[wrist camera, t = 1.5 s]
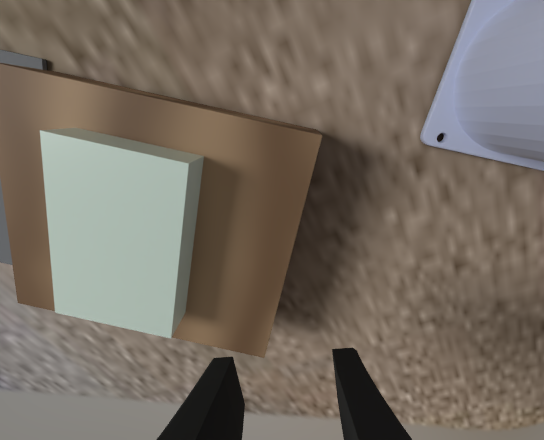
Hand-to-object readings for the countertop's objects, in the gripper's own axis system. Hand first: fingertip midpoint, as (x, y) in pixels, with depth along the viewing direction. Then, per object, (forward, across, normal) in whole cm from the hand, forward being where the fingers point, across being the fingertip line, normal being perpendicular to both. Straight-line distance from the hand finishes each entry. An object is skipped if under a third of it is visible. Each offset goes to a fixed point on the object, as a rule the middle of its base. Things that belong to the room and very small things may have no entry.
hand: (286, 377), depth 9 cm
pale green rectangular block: (+6, +7, -3) cm, 10 cm away
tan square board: (+10, +7, -3) cm, 13 cm away
